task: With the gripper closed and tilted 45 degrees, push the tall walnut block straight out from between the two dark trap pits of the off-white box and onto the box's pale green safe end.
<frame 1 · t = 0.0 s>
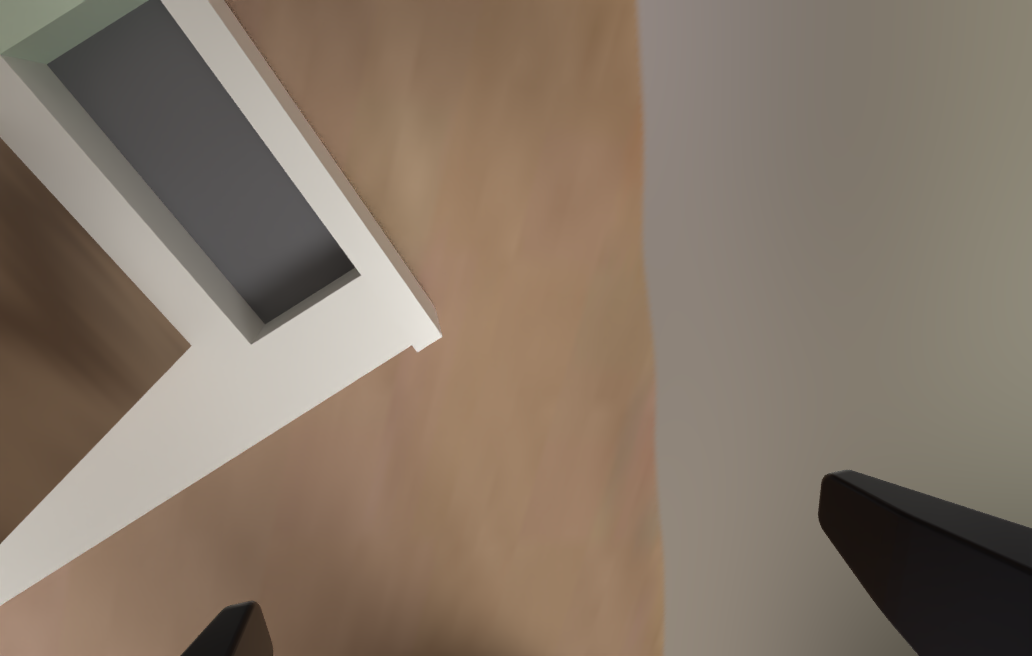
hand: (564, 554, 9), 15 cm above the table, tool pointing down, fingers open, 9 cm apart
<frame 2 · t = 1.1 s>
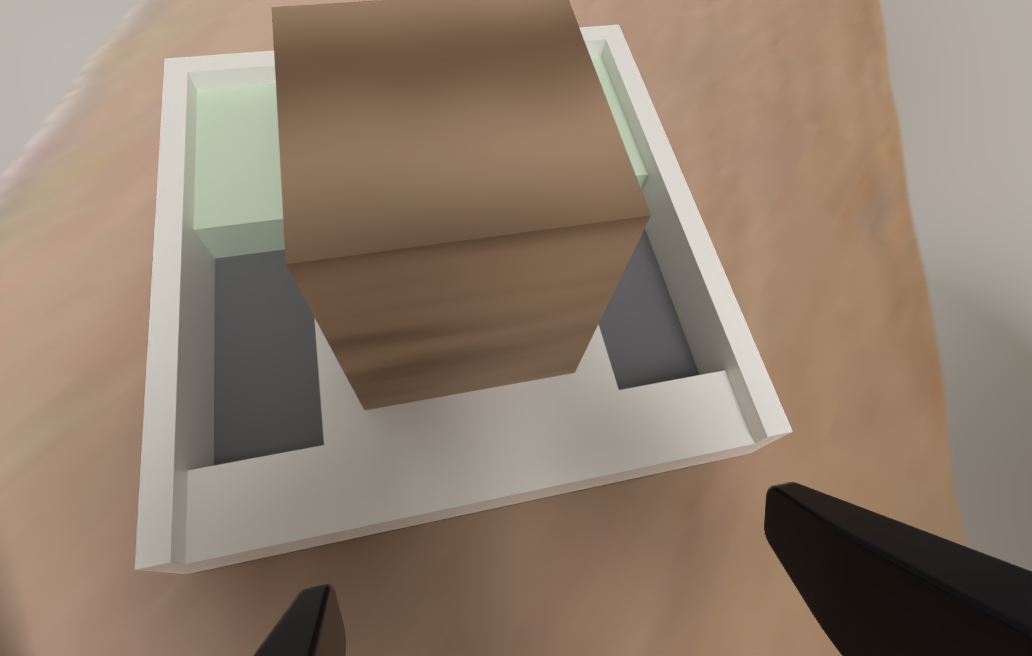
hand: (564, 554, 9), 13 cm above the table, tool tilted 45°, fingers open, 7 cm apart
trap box: (445, 268, 26), on the table
walnut block: (454, 298, 23), point 2 cm above the table, touching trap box
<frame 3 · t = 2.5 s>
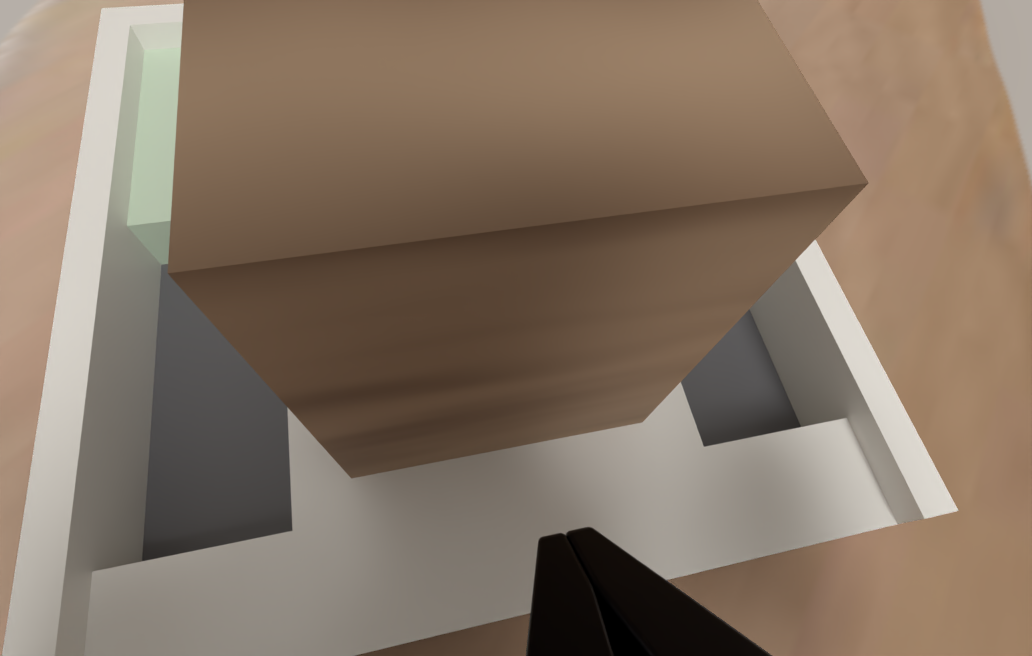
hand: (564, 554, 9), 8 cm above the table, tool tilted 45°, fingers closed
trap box: (460, 277, 20), on the table
walnut block: (476, 319, 17), point 2 cm above the table, touching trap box
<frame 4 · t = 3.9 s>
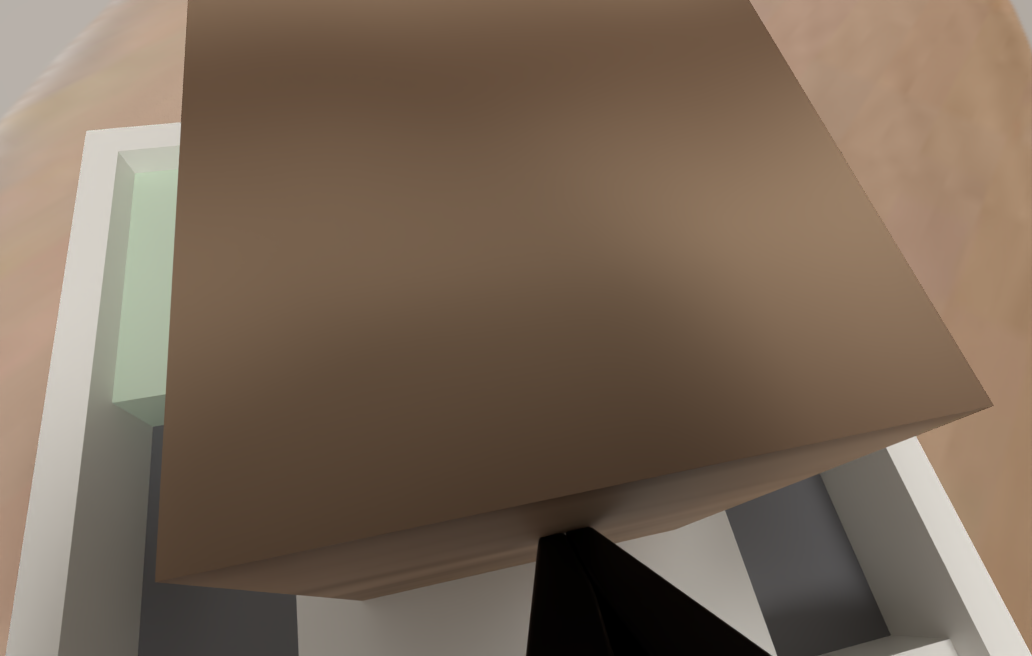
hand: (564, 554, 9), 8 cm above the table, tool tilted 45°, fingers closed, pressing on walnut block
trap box: (490, 432, 18), on the table
walnut block: (494, 412, 16), point 3 cm above the table, touching gripper
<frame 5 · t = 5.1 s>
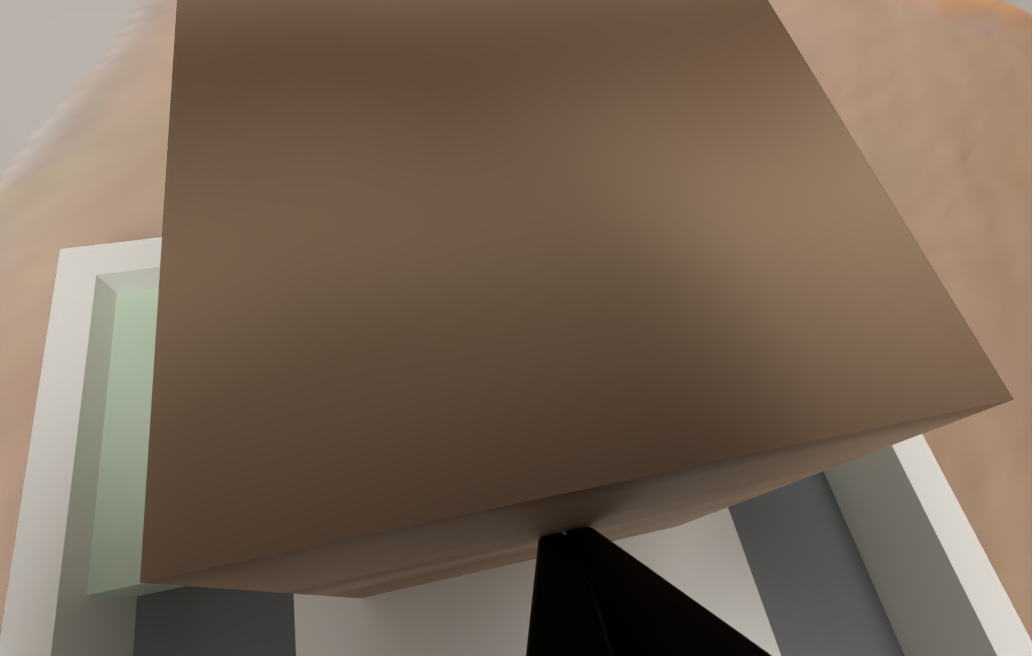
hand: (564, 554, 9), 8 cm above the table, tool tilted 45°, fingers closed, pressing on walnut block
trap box: (522, 591, 16), on the table
walnut block: (494, 407, 16), point 2 cm above the table, touching gripper, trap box
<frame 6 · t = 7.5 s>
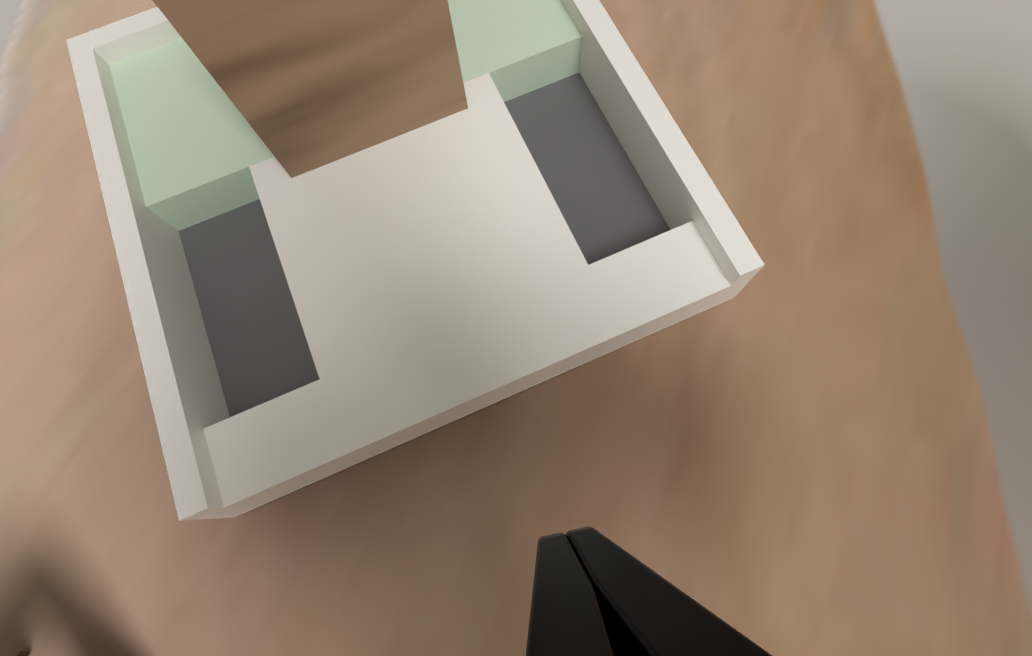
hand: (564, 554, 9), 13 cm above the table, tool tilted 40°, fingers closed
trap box: (400, 187, 26), on the table
walnut block: (351, 72, 25), point 2 cm above the table, touching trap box
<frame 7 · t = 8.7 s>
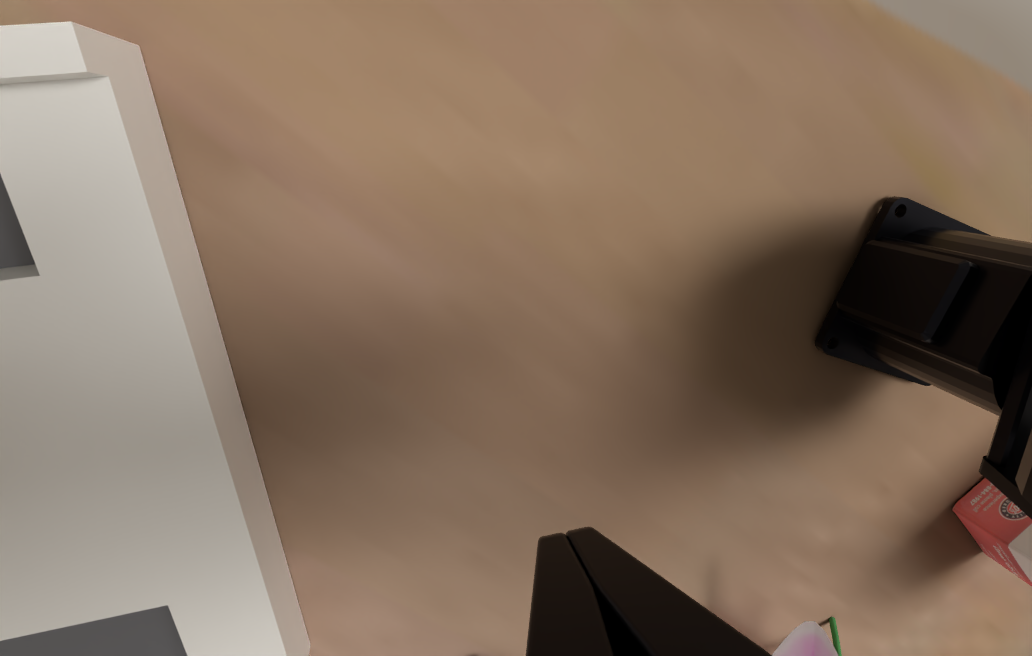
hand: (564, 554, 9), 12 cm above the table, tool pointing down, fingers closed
ink cartridge box: (1027, 473, 29), on the table
lily: (754, 639, 29), on the table
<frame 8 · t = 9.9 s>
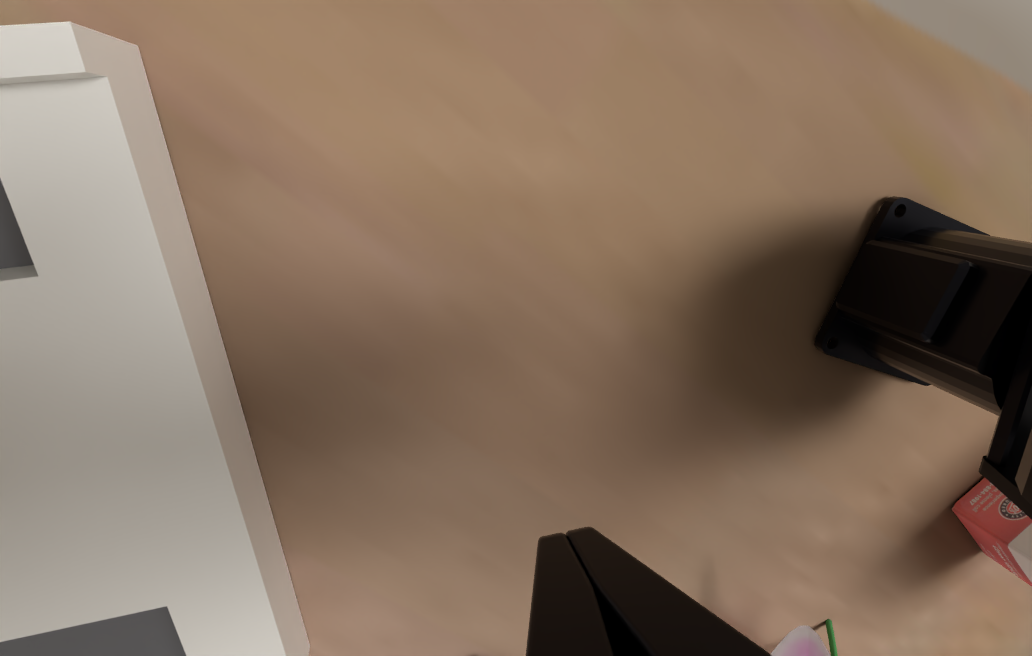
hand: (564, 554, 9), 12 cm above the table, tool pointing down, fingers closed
ink cartridge box: (1026, 472, 29), on the table
lily: (751, 641, 29), on the table
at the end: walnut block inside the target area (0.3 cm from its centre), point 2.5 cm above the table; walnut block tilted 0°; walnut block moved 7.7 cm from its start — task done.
